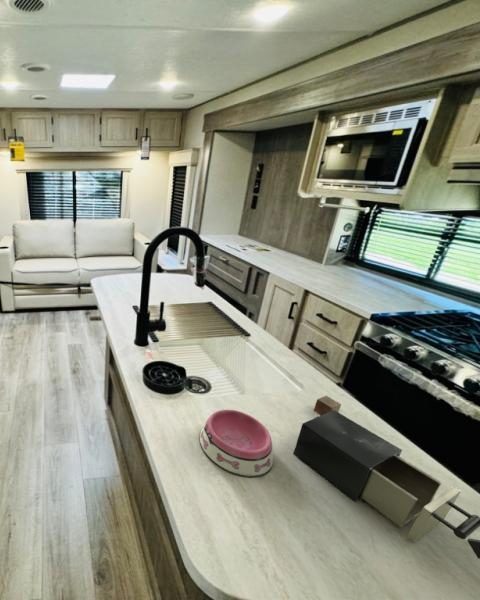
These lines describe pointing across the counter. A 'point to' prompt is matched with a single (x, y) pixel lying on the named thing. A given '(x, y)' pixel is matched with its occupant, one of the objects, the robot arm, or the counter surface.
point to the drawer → (413, 498)
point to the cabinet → (342, 451)
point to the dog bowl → (237, 443)
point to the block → (326, 405)
